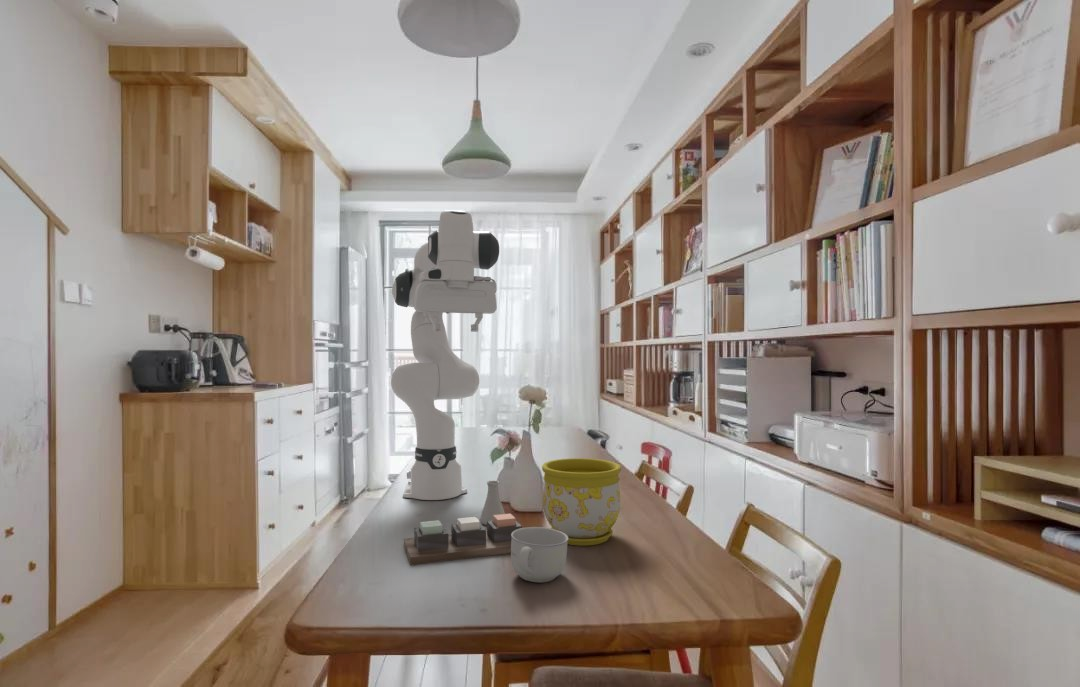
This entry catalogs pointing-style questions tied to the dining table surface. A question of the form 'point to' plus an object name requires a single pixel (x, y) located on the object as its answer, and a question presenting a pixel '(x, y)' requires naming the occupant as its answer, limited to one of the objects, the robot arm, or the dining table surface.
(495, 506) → the flask
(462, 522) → the cream button
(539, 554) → the teacup
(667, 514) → the dining table surface
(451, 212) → the robot arm
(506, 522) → the terracotta button
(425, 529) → the sage button
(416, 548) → the button console
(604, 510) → the flowerpot
